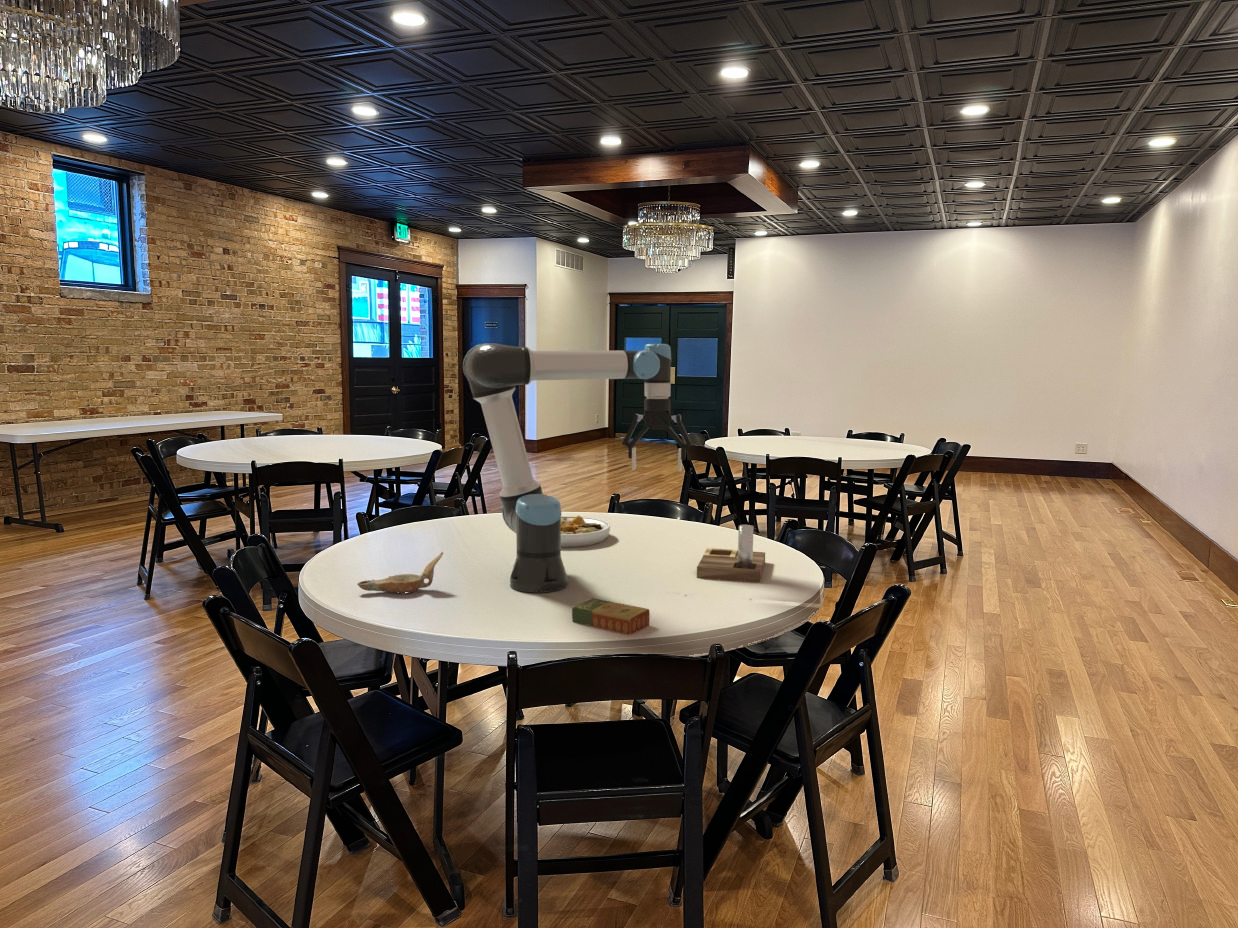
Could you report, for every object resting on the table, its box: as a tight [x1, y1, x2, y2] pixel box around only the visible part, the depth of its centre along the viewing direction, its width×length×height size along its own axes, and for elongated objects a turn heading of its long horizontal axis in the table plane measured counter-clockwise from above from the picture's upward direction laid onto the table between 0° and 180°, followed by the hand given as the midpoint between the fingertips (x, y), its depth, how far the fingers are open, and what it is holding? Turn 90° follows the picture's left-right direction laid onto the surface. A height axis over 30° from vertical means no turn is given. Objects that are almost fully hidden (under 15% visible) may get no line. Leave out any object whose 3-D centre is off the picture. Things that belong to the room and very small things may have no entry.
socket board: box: [696, 547, 766, 583], centre depth 226 cm, size 22×17×4 cm
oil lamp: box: [356, 551, 444, 593], centre depth 205 cm, size 9×21×10 cm, turn 104°
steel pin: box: [737, 524, 754, 569], centre depth 219 cm, size 4×4×14 cm
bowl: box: [561, 515, 611, 548], centre depth 268 cm, size 30×30×8 cm
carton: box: [571, 597, 651, 636], centre depth 182 cm, size 8×16×4 cm, turn 57°
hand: (656, 470), depth 235 cm, fingers open, 13 cm apart
